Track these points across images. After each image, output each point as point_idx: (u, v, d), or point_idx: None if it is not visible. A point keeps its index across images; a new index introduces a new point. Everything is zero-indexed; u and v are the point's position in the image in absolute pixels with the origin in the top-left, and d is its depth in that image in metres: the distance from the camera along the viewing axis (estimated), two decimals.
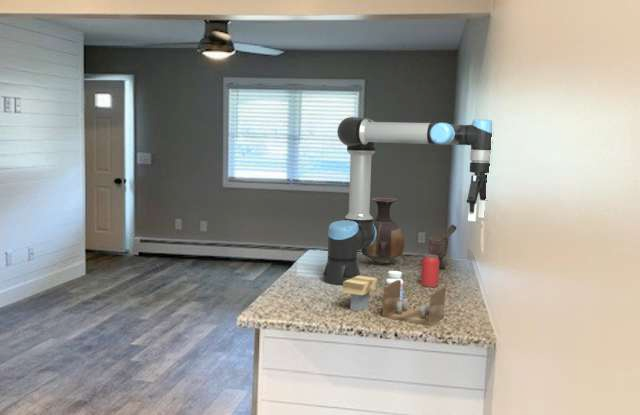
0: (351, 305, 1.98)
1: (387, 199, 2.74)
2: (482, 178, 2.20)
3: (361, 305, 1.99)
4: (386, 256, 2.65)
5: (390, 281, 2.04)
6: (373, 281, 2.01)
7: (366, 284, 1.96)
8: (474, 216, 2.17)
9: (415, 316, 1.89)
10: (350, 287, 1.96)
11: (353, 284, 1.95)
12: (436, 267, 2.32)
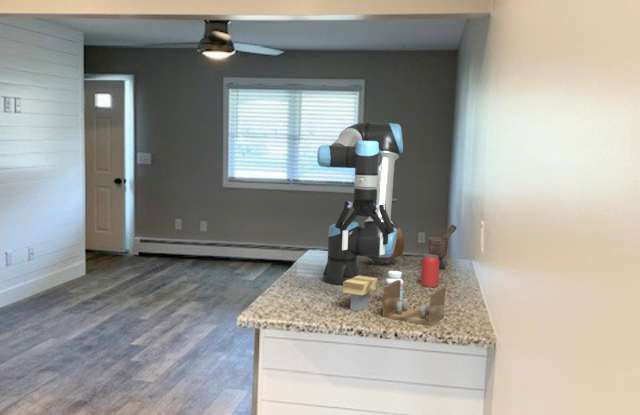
0: (351, 305, 1.98)
1: None
2: (358, 206, 1.97)
3: (361, 305, 1.99)
4: None
5: (390, 281, 2.04)
6: (373, 281, 2.01)
7: (366, 284, 1.96)
8: None
9: (415, 316, 1.89)
10: (350, 287, 1.96)
11: (353, 284, 1.95)
12: (436, 267, 2.32)
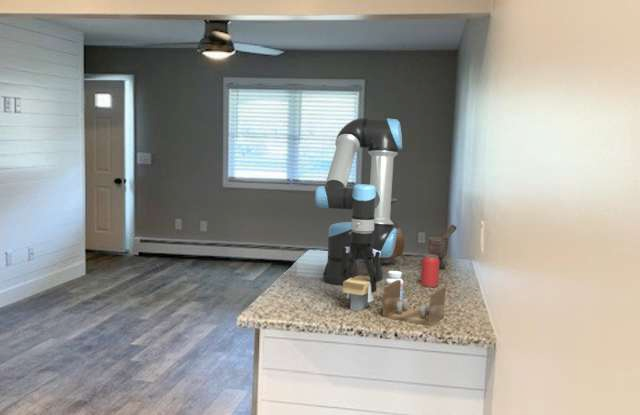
0: (351, 305, 1.98)
1: None
2: (355, 249, 1.99)
3: (361, 305, 1.99)
4: None
5: (390, 281, 2.04)
6: None
7: (366, 284, 1.96)
8: None
9: (415, 316, 1.89)
10: (350, 287, 1.96)
11: (353, 284, 1.95)
12: (436, 267, 2.32)
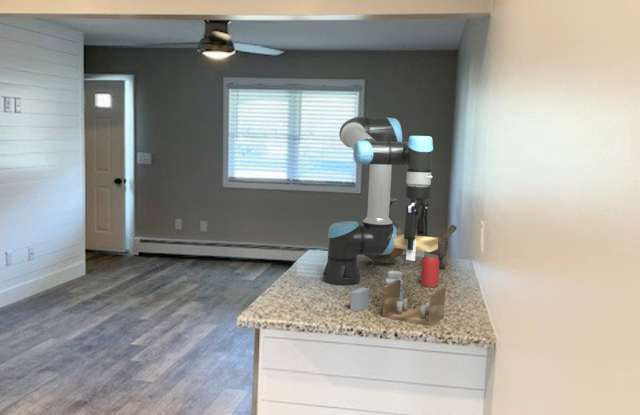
0: (351, 305, 1.98)
1: None
2: (420, 205, 1.86)
3: (361, 305, 1.99)
4: (386, 256, 2.65)
5: (390, 281, 2.04)
6: None
7: None
8: (413, 255, 1.85)
9: (415, 316, 1.89)
10: (433, 244, 1.86)
11: (434, 240, 1.86)
12: (436, 267, 2.32)
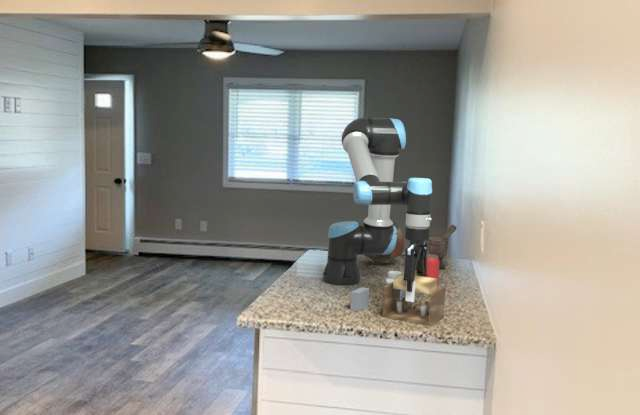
0: (351, 305, 1.98)
1: None
2: (419, 247, 1.87)
3: (361, 305, 1.99)
4: (386, 256, 2.65)
5: (390, 281, 2.04)
6: None
7: None
8: (412, 296, 1.87)
9: (415, 316, 1.89)
10: (432, 285, 1.87)
11: (433, 281, 1.88)
12: (436, 267, 2.32)
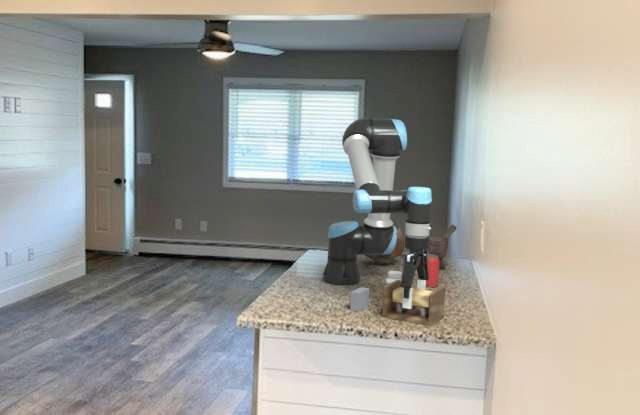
0: (351, 305, 1.98)
1: None
2: (419, 256, 1.88)
3: (361, 305, 1.99)
4: (386, 256, 2.65)
5: (390, 281, 2.04)
6: None
7: None
8: (409, 303, 1.85)
9: (415, 316, 1.89)
10: None
11: None
12: (436, 267, 2.32)
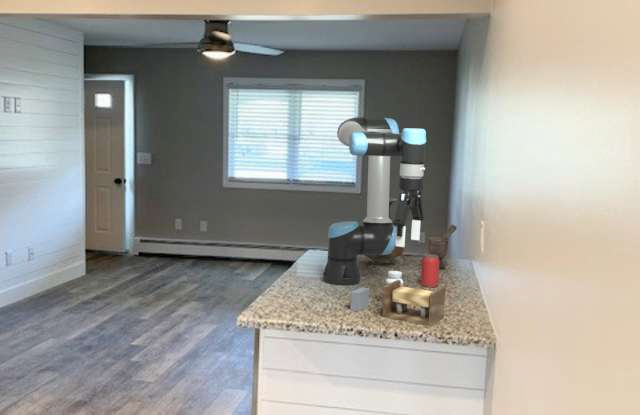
0: (351, 305, 1.98)
1: None
2: (413, 196, 1.90)
3: (361, 305, 1.99)
4: (386, 256, 2.65)
5: (390, 281, 2.04)
6: None
7: None
8: (402, 241, 1.87)
9: (415, 316, 1.89)
10: None
11: None
12: (436, 267, 2.32)
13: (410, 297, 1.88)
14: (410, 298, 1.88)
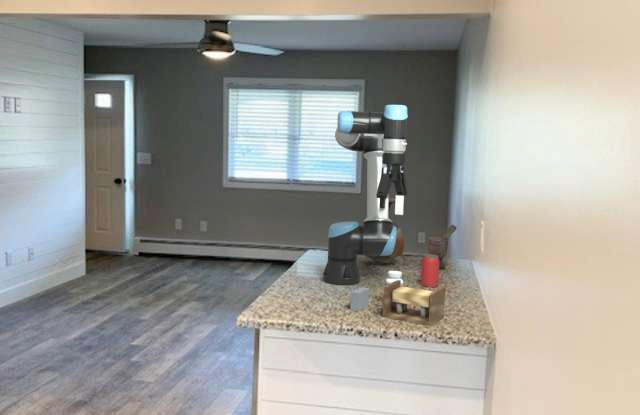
0: (351, 305, 1.98)
1: None
2: (395, 170, 1.97)
3: (361, 305, 1.99)
4: (386, 256, 2.65)
5: (390, 281, 2.04)
6: None
7: None
8: (385, 213, 1.94)
9: (415, 316, 1.89)
10: None
11: None
12: (436, 267, 2.32)
13: (410, 297, 1.88)
14: (410, 298, 1.88)
